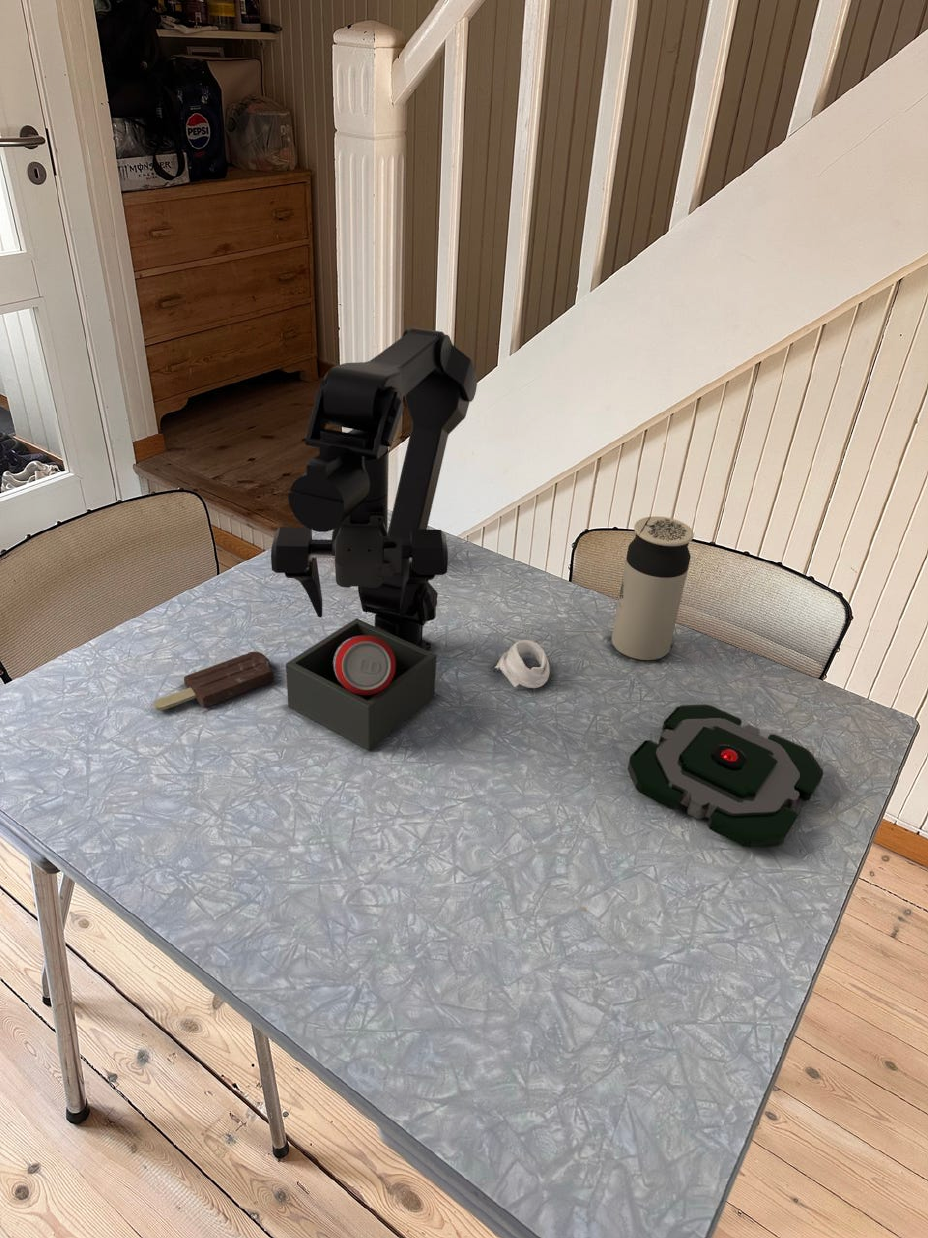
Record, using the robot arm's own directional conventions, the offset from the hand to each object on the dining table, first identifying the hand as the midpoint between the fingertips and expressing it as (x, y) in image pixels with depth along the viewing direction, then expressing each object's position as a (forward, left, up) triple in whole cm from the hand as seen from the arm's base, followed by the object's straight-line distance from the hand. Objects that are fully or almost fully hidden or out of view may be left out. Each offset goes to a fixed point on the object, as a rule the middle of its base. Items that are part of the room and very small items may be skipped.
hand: (361, 615), depth 99 cm
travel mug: (-34, +22, -13) cm, 42 cm away
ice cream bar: (+9, -15, -13) cm, 22 cm away
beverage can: (-3, -3, -10) cm, 10 cm away
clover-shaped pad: (-15, +41, -13) cm, 45 cm away
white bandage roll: (-18, +13, -13) cm, 25 cm away
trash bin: (0, 0, -13) cm, 13 cm away
